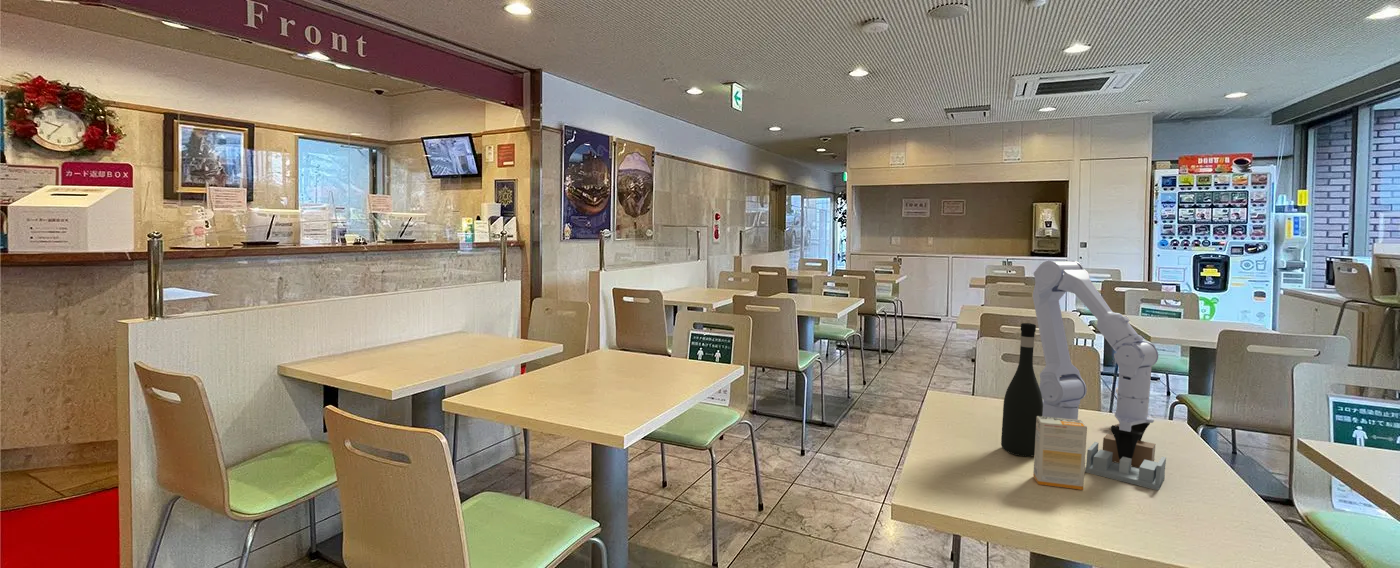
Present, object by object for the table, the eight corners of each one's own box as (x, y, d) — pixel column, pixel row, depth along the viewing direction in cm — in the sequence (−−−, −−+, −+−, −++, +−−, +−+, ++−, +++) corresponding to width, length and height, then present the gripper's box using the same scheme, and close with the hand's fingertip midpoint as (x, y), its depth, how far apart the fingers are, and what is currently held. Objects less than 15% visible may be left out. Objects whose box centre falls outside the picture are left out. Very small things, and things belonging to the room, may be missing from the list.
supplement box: (1077, 481, 124) (1081, 419, 123) (1083, 491, 119) (1088, 426, 118) (1031, 475, 127) (1036, 414, 125) (1036, 484, 122) (1040, 421, 121)
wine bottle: (1012, 443, 146) (1020, 320, 144) (1046, 453, 140) (1055, 324, 137) (993, 449, 142) (1001, 322, 139) (1027, 460, 135) (1036, 327, 132)
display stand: (1085, 472, 129) (1086, 450, 129) (1093, 462, 135) (1095, 441, 134) (1158, 490, 120) (1160, 467, 120) (1164, 479, 126) (1166, 456, 126)
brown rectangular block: (1101, 459, 137) (1103, 437, 137) (1105, 454, 140) (1107, 433, 140) (1150, 470, 131) (1152, 448, 130) (1153, 465, 134) (1155, 443, 133)
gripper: (1150, 405, 126) (1144, 469, 127) (1160, 393, 137) (1155, 452, 138) (1109, 399, 131) (1105, 460, 132) (1122, 387, 141) (1118, 444, 143)
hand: (1128, 455), depth 135 cm, fingers open, 7 cm apart
